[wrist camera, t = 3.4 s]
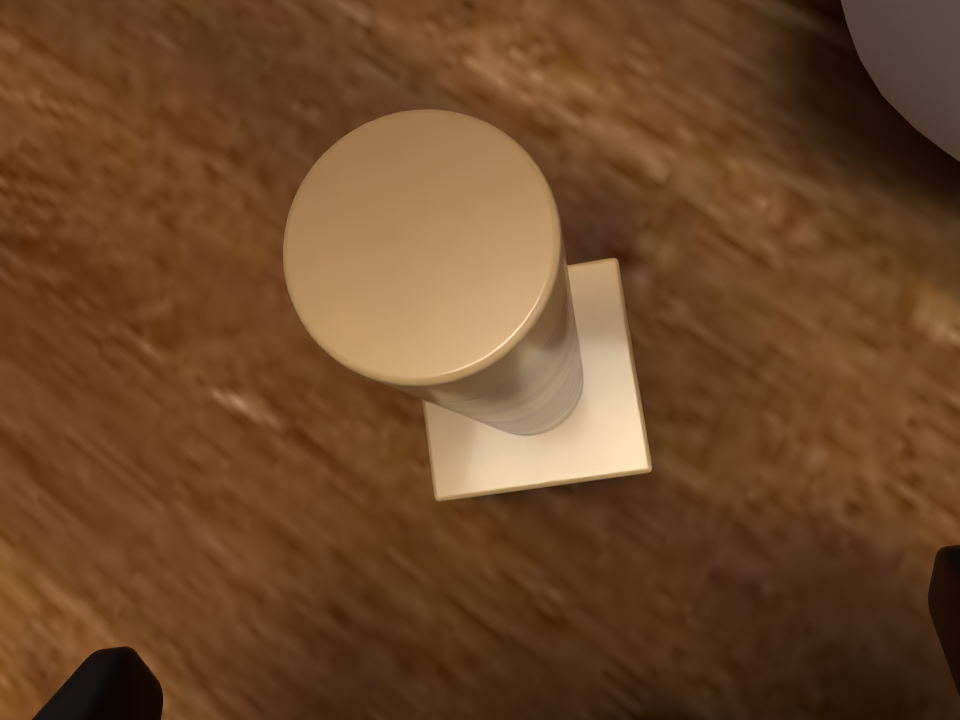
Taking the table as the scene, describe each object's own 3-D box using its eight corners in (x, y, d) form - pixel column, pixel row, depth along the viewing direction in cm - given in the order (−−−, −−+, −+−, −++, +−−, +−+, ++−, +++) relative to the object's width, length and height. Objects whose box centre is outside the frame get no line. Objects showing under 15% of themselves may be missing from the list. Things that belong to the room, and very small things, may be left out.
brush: (643, 471, 19) (746, 480, 6) (463, 496, 20) (183, 555, 6) (614, 293, 20) (648, -66, 6) (440, 321, 20) (138, 42, 7)
